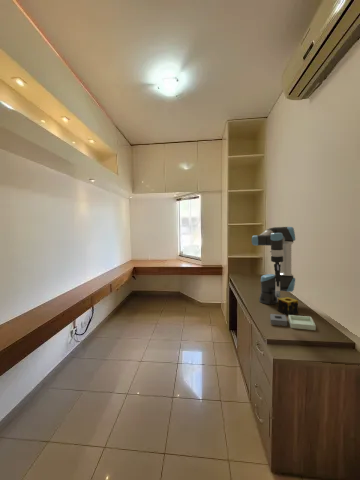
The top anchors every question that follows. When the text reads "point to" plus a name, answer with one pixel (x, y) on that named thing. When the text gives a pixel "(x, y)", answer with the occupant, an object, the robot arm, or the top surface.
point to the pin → (277, 293)
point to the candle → (288, 306)
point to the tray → (301, 322)
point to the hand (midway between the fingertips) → (277, 290)
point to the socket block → (278, 319)
